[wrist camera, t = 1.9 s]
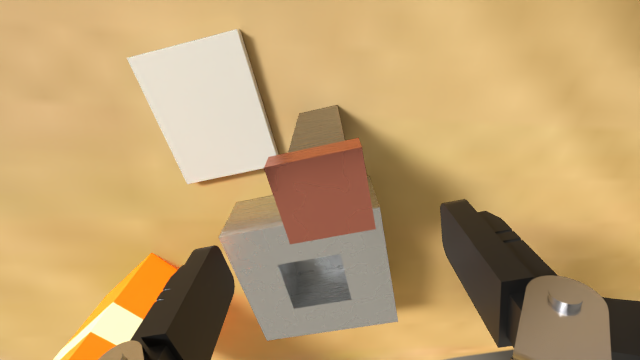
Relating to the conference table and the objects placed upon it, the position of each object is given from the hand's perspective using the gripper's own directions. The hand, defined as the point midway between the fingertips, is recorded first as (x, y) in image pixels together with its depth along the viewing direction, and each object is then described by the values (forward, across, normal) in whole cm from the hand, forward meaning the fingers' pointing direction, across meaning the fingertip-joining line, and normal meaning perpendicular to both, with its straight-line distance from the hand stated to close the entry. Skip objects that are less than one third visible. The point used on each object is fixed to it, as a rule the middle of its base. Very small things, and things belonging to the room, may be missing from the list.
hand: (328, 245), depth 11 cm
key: (+14, 0, 0) cm, 14 cm away
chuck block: (+14, +3, +11) cm, 18 cm away
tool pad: (+14, +8, -3) cm, 17 cm away
